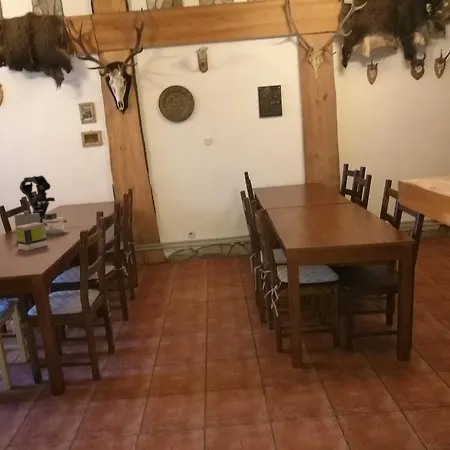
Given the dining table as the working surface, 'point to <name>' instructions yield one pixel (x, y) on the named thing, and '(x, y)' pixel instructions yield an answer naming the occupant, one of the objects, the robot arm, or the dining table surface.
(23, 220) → the hip flask
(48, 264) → the dining table surface
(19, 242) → the tea box
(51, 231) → the cooker pot
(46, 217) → the cooker lid
